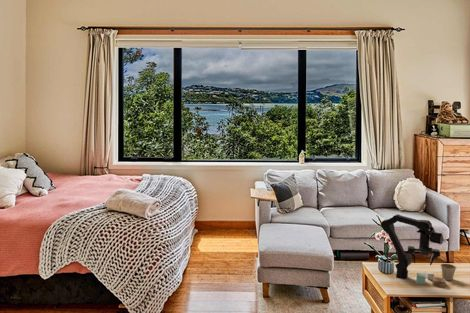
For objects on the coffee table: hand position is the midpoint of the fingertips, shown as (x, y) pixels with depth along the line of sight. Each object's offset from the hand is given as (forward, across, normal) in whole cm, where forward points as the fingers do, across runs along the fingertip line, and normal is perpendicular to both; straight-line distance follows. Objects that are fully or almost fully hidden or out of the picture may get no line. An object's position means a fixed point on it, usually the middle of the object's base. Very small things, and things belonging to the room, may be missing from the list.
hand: (422, 264), depth 274 cm
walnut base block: (+12, +10, 0) cm, 16 cm away
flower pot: (+12, +17, +12) cm, 24 cm away
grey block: (+12, +6, +8) cm, 16 cm away
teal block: (+12, 0, 0) cm, 12 cm away
